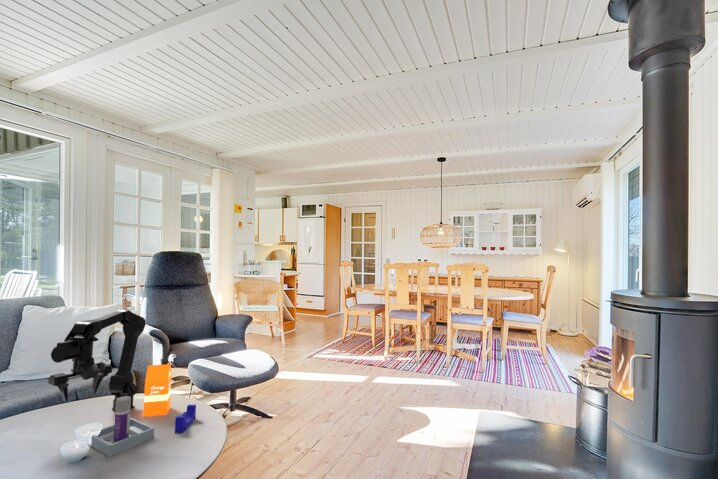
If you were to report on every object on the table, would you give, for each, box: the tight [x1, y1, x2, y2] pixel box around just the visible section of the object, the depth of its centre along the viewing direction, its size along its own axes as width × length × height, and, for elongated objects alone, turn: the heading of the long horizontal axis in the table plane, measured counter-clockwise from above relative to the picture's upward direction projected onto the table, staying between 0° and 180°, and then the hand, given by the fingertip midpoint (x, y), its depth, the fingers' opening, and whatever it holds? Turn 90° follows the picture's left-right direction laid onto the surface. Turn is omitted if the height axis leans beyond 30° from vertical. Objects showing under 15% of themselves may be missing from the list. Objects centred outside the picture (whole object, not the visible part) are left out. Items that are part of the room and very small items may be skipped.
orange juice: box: [142, 363, 173, 418], centre depth 154 cm, size 8×9×20 cm
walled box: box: [91, 417, 155, 457], centre depth 130 cm, size 15×15×4 cm
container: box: [113, 396, 131, 443], centre depth 131 cm, size 5×5×15 cm
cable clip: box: [174, 404, 197, 434], centre depth 143 cm, size 12×4×6 cm, turn 3°
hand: (80, 397), depth 136 cm, fingers open, 9 cm apart
